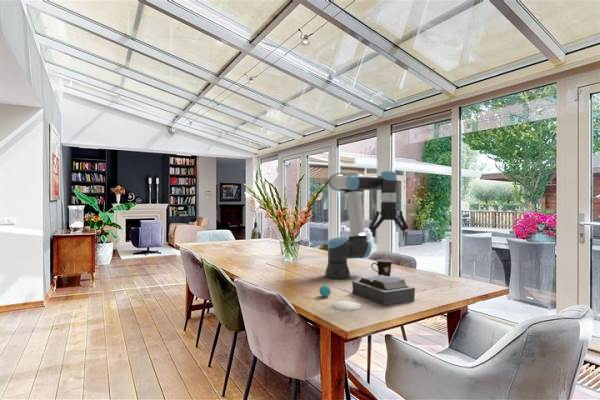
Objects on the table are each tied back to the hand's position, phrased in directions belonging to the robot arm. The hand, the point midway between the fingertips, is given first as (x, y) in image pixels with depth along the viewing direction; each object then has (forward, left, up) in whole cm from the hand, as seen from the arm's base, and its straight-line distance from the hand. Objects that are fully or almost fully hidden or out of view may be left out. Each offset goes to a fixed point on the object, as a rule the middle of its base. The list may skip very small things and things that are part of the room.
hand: (388, 243), depth 177 cm
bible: (+4, -8, -25) cm, 27 cm away
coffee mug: (-27, +21, -25) cm, 42 cm away
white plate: (+7, -32, -25) cm, 41 cm away
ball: (-10, -32, -22) cm, 40 cm away
